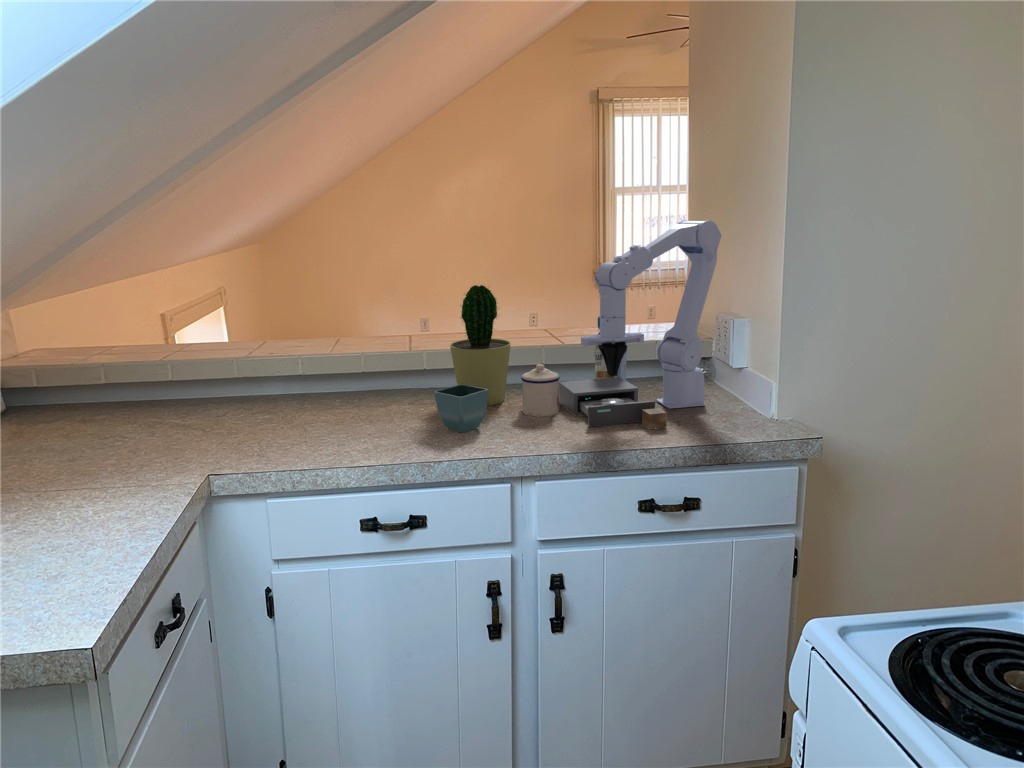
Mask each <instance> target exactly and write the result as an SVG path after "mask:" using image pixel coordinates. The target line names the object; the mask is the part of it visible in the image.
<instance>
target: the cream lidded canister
mask: <svg viewBox="0 0 1024 768" xmlns="http://www.w3.org/2000/svg"><path fill="white" fill-rule="evenodd" d="M560 378H561V377H560V375H559V373H557V372H556V371H551V370H550V369H548V368H546V367H545V365H544V364H541V363H538V364H536V366H535V368H533V369H531V370H530V371H528V372H525V373H523V374H522V375H521V381H522V382H521V383H522V384H521V385H522V412H523V413H524V415H526V416H529V417H534V416H535V418H536V417H537V418H542V417H543V418H544V417H550V416H552V417H553V416H554V415H556V414H558V413H559V412H560V403H559V382H560V381H559V380H560Z"/></svg>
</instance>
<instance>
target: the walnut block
mask: <svg viewBox="0 0 1024 768" xmlns="http://www.w3.org/2000/svg"><path fill="white" fill-rule="evenodd" d="M667 415H668V414H667V412H666V411H664V410H663V409H661V408H659V407H657V408H656V407H655V409H644V410H642V422H641V425H642V424H643V425H644V426H643V425H642V426H643V427H645V428H646V427H647V428H646V429H648V428H649V429H652V430H656V429H655V428H662V429H666V428H667V423H668V422H667V419H668V418H667V417H668V416H667ZM665 427H666V428H665ZM649 429H648V430H649Z"/></svg>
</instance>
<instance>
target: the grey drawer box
mask: <svg viewBox="0 0 1024 768" xmlns="http://www.w3.org/2000/svg"><path fill="white" fill-rule="evenodd" d="M589 397H591V399H588V400H585V398H589ZM607 398H630V399H631V400H633V401H635V402H639V387H637V386H636V385H634V384H632V383H630V382H629V381H627V380H626V381H625V380H624V379H622V378H620V377H616V378H604V379H595V378H594V379H593V378H592V379H583V380H582V379H581V380H580V379H578V380H569V381H567V380H566V381H559V404H560V403H561V404H562V405H561V404H560V405H561V406H562V407H564V409H568V410H567V411H568V412H570V413H571V414H572V415H573V416H574V415H575V417H582V416H584V415H585V416H587V415H586V414H585V413H583V412H582V411H581V410H580V409H579V402H582V401H594V400H602V399H607Z"/></svg>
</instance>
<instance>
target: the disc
mask: <svg viewBox="0 0 1024 768" xmlns="http://www.w3.org/2000/svg"><path fill="white" fill-rule="evenodd" d="M619 403H625V401H624V400H622V399H617V398H607V399H602V400H600V405H608V404H619Z"/></svg>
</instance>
